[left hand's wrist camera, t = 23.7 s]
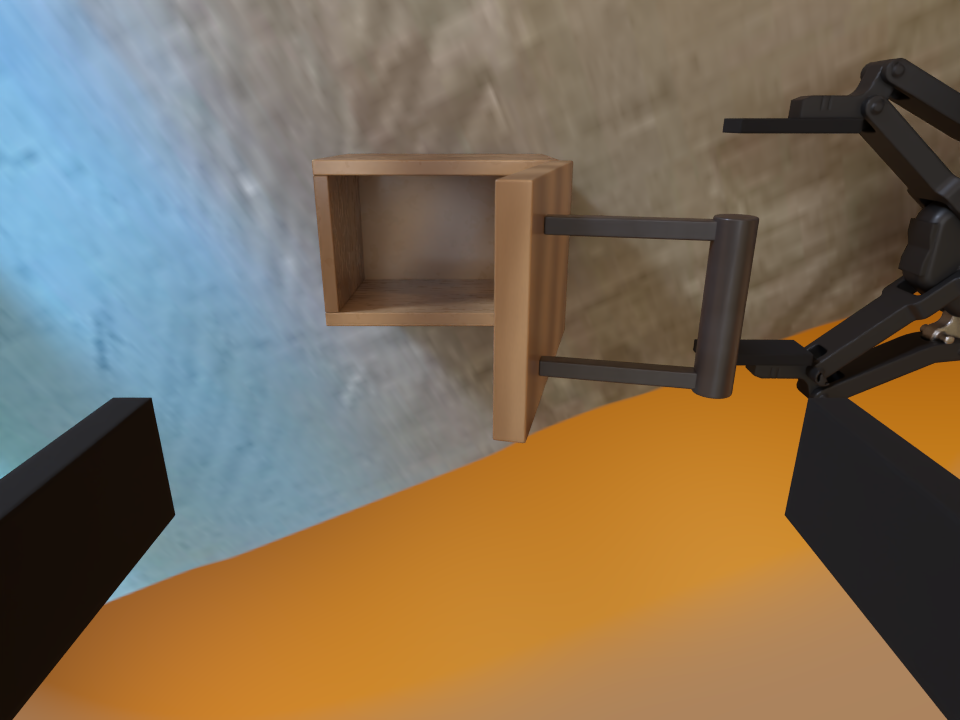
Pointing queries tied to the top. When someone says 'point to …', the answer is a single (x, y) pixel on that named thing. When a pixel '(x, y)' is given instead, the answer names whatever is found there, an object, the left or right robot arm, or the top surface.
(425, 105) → the top surface
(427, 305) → the chest
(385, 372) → the top surface
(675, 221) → the lid
